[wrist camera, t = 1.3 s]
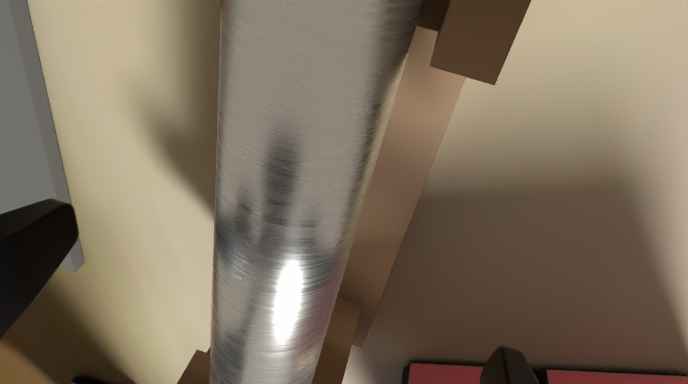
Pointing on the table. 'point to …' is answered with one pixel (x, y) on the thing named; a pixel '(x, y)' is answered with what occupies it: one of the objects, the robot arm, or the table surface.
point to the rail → (294, 170)
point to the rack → (406, 159)
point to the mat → (27, 123)
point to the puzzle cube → (463, 379)
